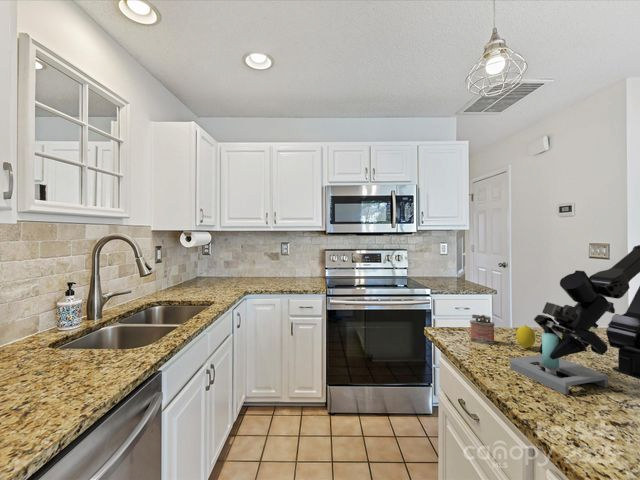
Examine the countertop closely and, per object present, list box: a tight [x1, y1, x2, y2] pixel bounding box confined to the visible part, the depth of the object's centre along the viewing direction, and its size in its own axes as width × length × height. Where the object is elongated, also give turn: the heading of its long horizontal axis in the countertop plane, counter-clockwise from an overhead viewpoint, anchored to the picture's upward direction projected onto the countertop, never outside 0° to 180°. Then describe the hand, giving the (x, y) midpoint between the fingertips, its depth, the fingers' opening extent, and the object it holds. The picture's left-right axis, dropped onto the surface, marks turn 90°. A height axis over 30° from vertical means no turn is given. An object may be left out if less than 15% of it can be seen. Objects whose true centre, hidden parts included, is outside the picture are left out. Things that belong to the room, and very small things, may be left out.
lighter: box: [469, 314, 496, 346], centre depth 115 cm, size 8×3×10 cm, turn 58°
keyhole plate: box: [509, 353, 609, 396], centre depth 86 cm, size 14×16×3 cm
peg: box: [541, 332, 562, 378], centre depth 84 cm, size 4×4×12 cm
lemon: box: [515, 324, 536, 349], centre depth 108 cm, size 6×6×8 cm
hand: (545, 355), depth 84 cm, fingers closed on peg, 4 cm apart
